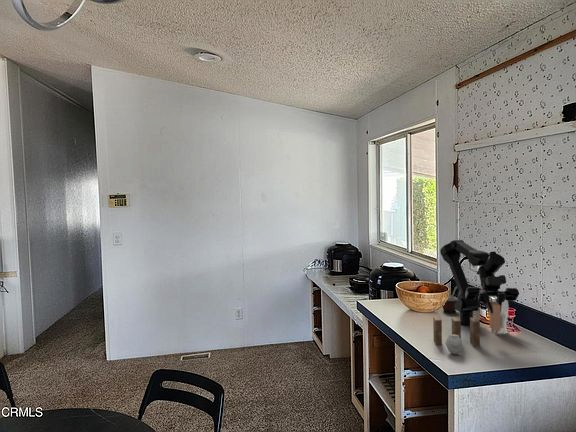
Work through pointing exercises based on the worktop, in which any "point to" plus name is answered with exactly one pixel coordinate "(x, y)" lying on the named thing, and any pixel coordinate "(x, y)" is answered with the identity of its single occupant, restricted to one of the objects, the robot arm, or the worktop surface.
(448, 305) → the mate gourd
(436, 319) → the domino
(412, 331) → the worktop surface
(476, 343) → the domino
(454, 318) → the domino
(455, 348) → the grey faceted rock
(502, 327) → the beer glass
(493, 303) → the loose domino
